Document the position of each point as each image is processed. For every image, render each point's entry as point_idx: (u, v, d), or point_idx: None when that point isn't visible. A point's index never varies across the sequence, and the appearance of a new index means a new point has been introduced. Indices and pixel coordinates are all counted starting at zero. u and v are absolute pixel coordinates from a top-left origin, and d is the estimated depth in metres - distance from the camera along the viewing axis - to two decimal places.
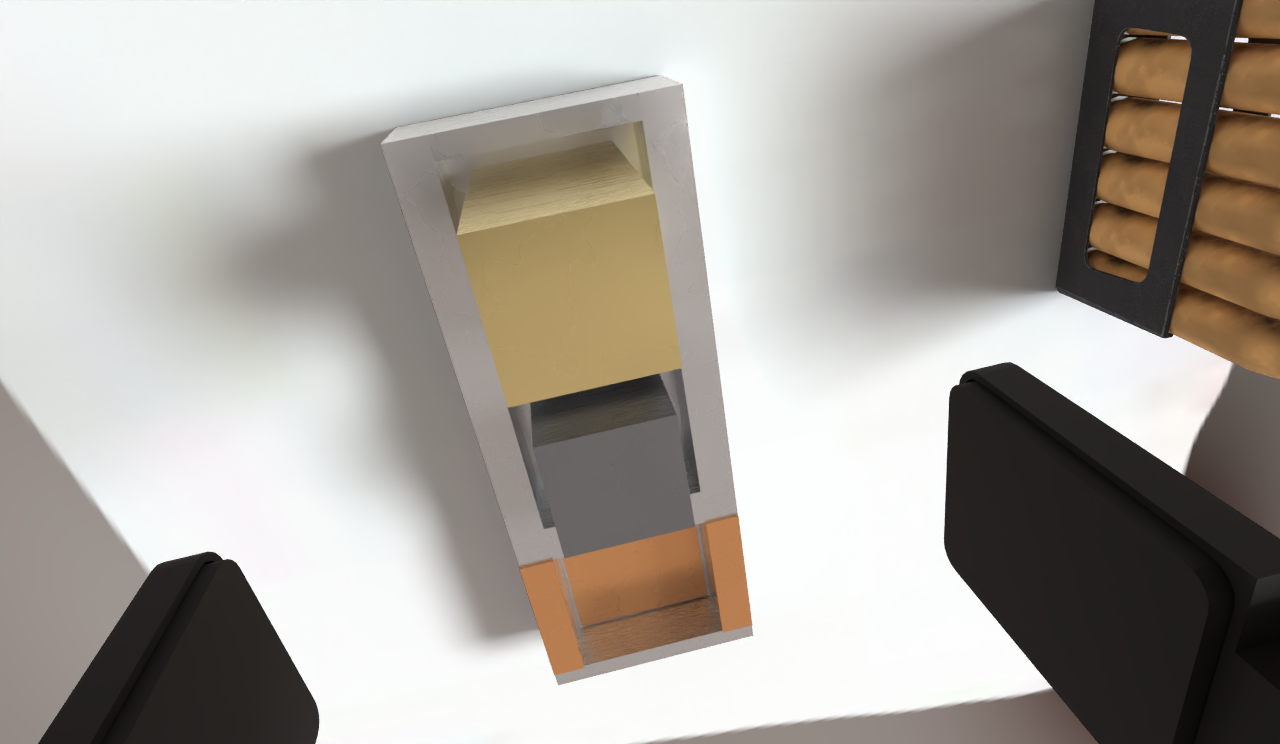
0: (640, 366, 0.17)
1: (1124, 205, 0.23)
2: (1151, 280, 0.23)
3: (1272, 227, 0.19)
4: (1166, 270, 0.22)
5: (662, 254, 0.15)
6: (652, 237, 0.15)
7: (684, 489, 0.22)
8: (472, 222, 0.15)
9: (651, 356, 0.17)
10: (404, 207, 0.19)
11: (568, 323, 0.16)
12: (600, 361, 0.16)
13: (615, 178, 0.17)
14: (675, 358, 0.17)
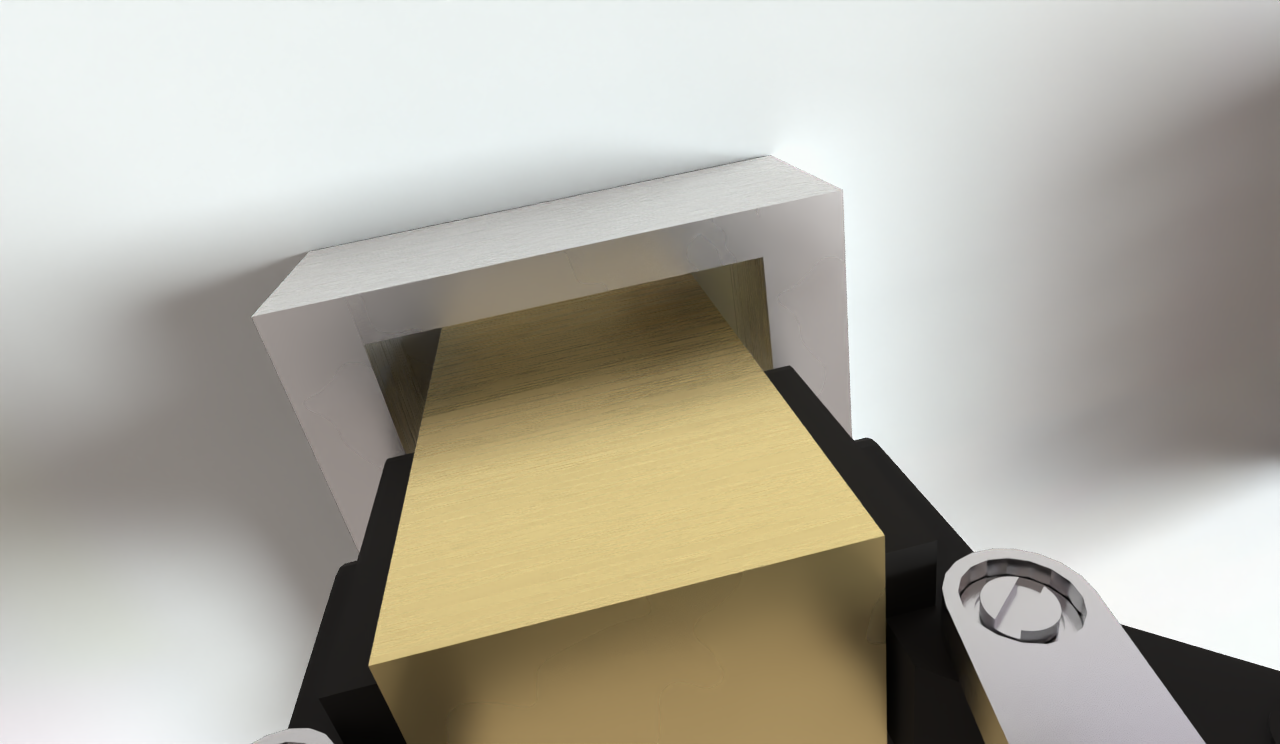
0: None
1: None
2: None
3: None
4: None
5: (880, 649, 0.06)
6: (863, 622, 0.06)
7: None
8: (417, 588, 0.06)
9: None
10: (308, 424, 0.10)
11: None
12: None
13: (742, 424, 0.08)
14: None
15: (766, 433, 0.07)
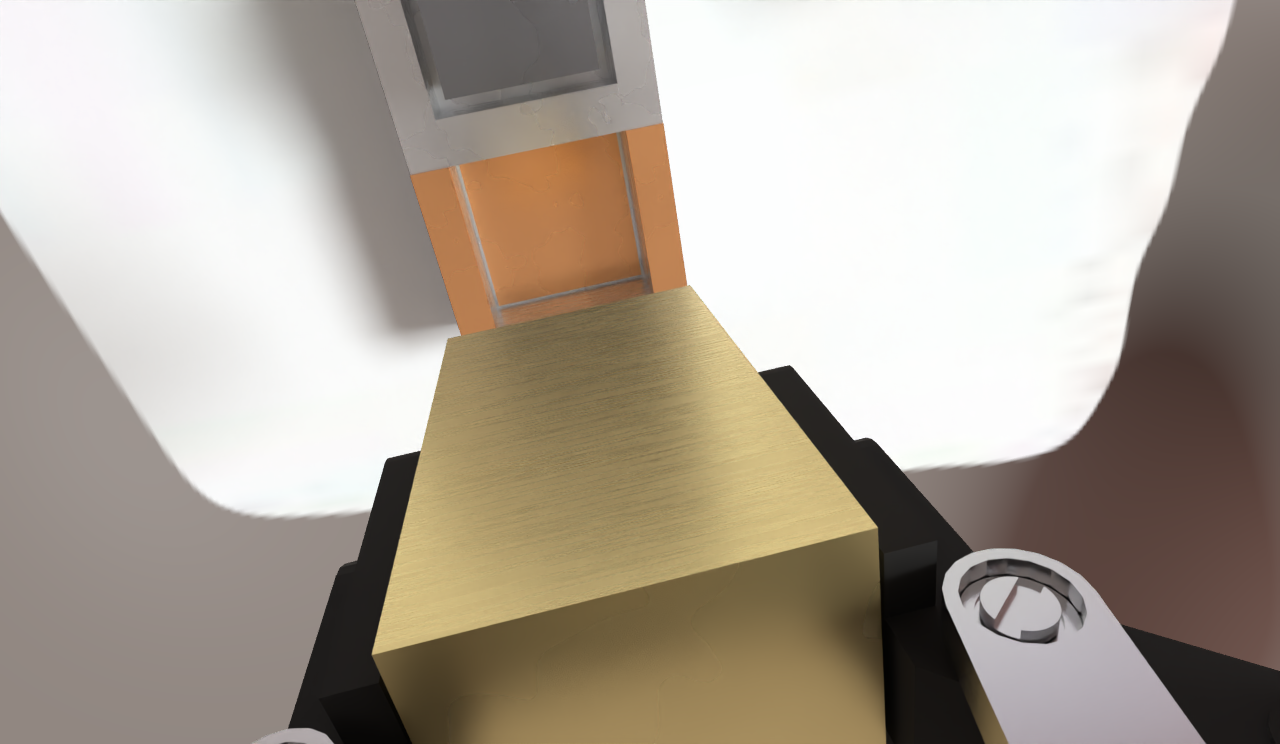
0: None
1: None
2: None
3: None
4: None
5: (876, 645, 0.06)
6: (859, 616, 0.06)
7: (583, 7, 0.18)
8: (421, 582, 0.06)
9: None
10: None
11: None
12: None
13: (740, 426, 0.08)
14: None
15: (763, 434, 0.07)
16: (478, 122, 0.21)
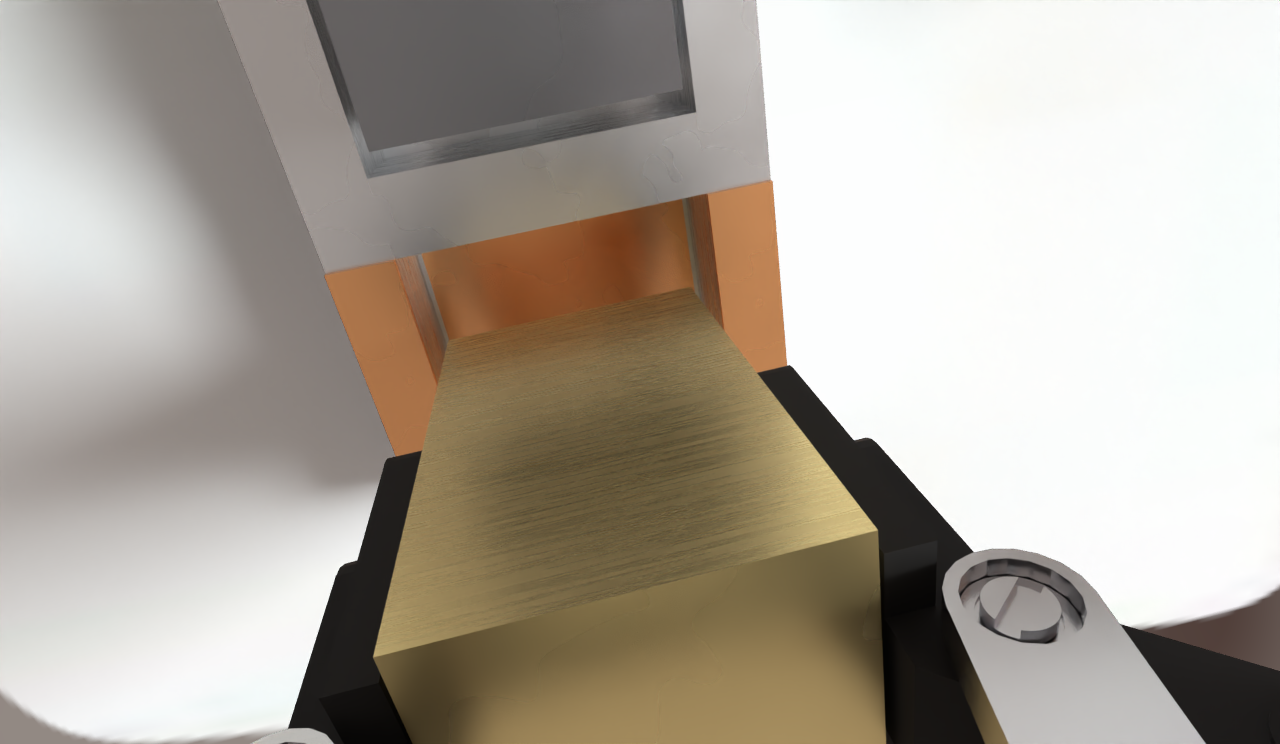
0: None
1: None
2: None
3: None
4: None
5: (876, 647, 0.06)
6: (859, 618, 0.06)
7: None
8: (422, 584, 0.06)
9: None
10: None
11: None
12: None
13: (740, 428, 0.08)
14: None
15: (764, 436, 0.07)
16: (446, 182, 0.12)
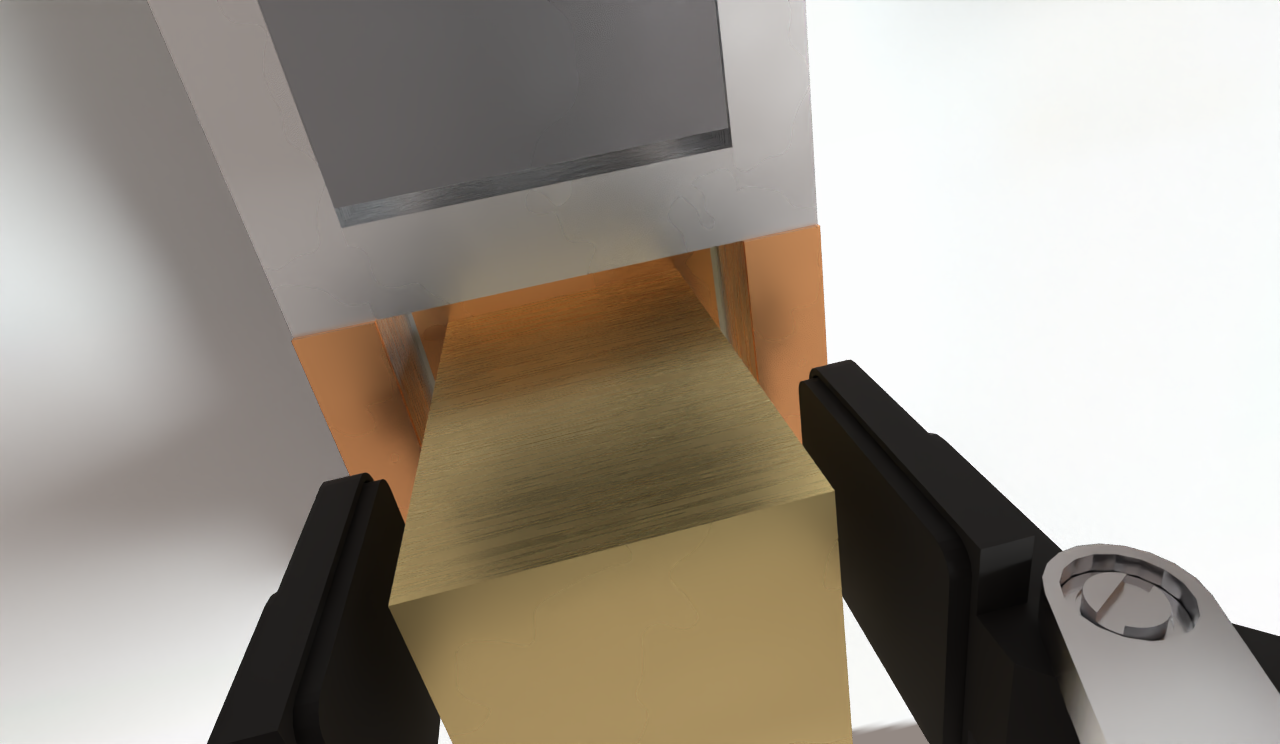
0: None
1: None
2: None
3: None
4: None
5: (837, 595, 0.07)
6: (820, 569, 0.07)
7: None
8: (429, 543, 0.07)
9: None
10: None
11: (635, 729, 0.08)
12: None
13: (717, 402, 0.08)
14: None
15: (738, 409, 0.08)
16: (436, 231, 0.10)
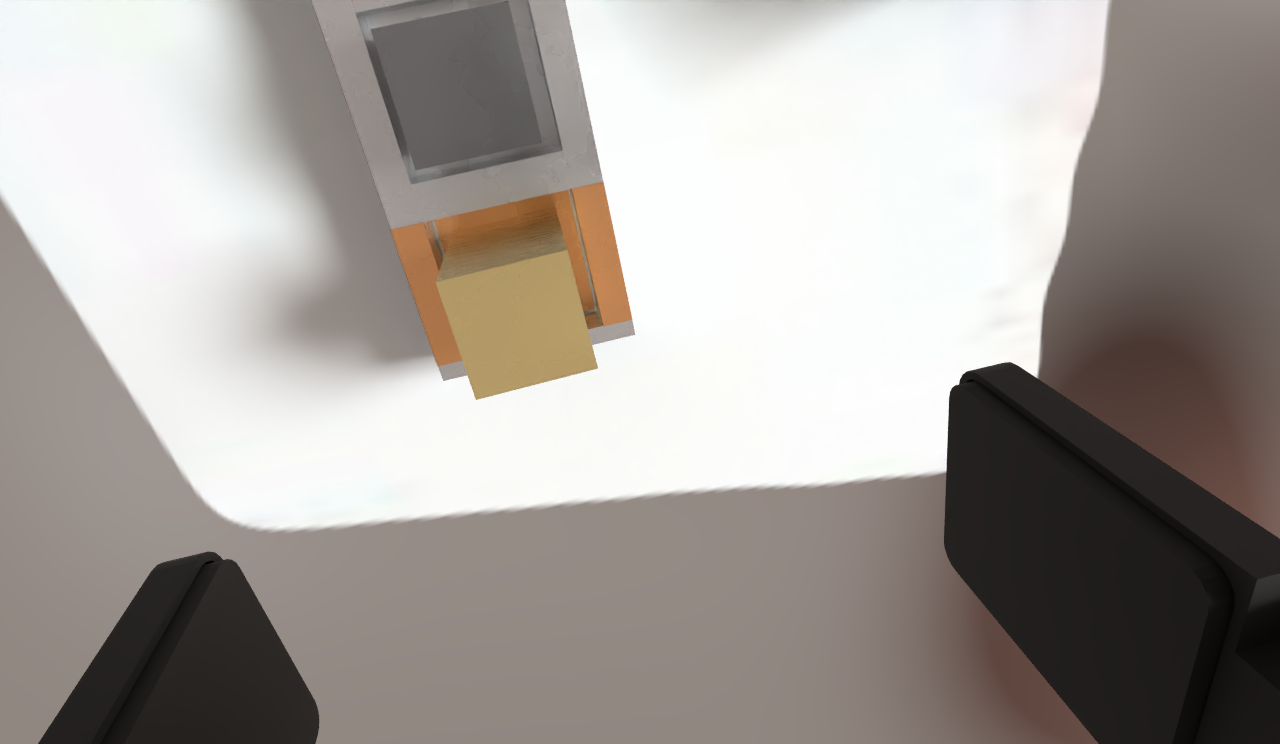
0: (567, 368, 0.24)
1: None
2: None
3: None
4: None
5: (576, 290, 0.23)
6: (568, 278, 0.23)
7: (526, 94, 0.23)
8: (447, 273, 0.23)
9: (575, 360, 0.24)
10: None
11: (514, 339, 0.23)
12: (539, 365, 0.24)
13: (546, 238, 0.24)
14: (592, 361, 0.24)
15: (552, 239, 0.24)
16: (447, 185, 0.26)
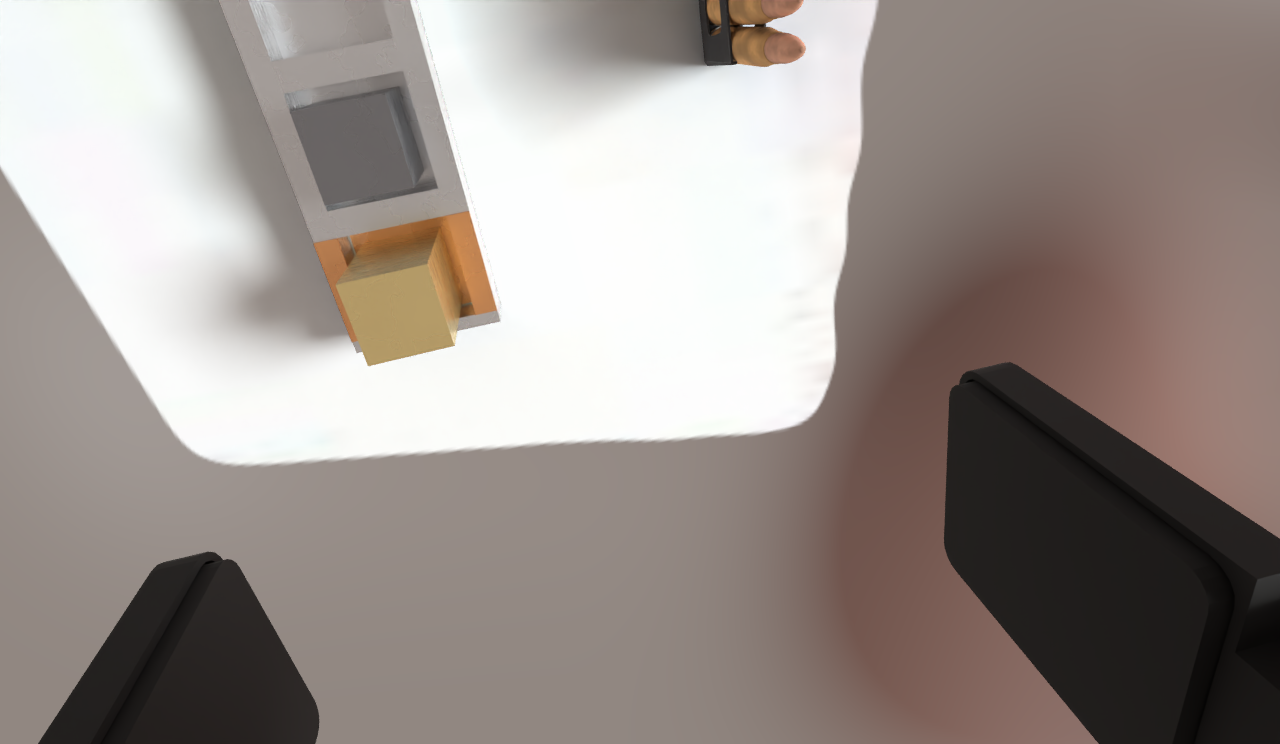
0: (432, 345, 0.34)
1: None
2: (724, 27, 0.34)
3: None
4: (724, 14, 0.33)
5: (435, 291, 0.33)
6: (429, 283, 0.33)
7: (401, 155, 0.33)
8: (345, 278, 0.33)
9: (437, 340, 0.34)
10: None
11: (393, 324, 0.33)
12: (412, 342, 0.34)
13: (419, 254, 0.34)
14: (450, 341, 0.34)
15: (422, 254, 0.34)
16: (353, 212, 0.36)
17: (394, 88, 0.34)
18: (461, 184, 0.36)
